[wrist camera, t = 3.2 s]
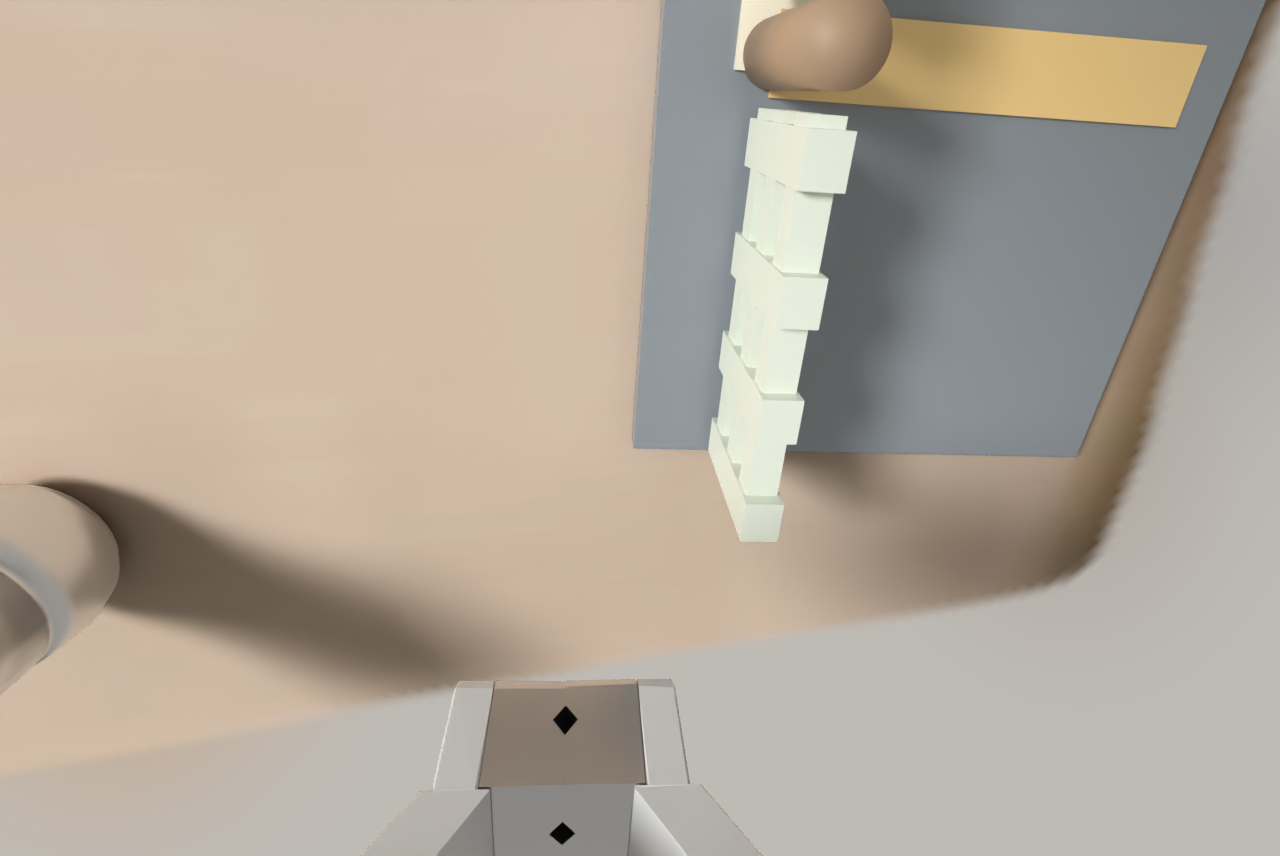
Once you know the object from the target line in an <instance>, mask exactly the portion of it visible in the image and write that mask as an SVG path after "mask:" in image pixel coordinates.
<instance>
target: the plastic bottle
mask: <svg viewBox="0 0 1280 856" xmlns="http://www.w3.org/2000/svg"><path fill="white" fill-rule="evenodd" d="M119 573H120V562H119V552H118V545H117V543H116V540H115V538H114V535H113V534H112V532H111V530H110V529H109V527H108V526H107V524H106V523H105V522H104V521H103V520H102V519H101V518H100V517H99V516H98V515H97V514H96V513H95V512H94V511H93V510H91V509H90V508H89V507H88V506H86V505H85V504H83V503H81V502H80V501H78V500H77V499H75V498H73V497H71V496H69V495H67V494H64V493H62V492H60V491H57V490H53V489H50V488H47V487H42V486H36V485H23V484H0V695H2V694H3V693H4V692H5V691H6V690H7V689H8V688H10V687H11V686H12V685H13V684H14V683H15V682H16V681H17V680H19V679H20V678H21V677H22V676H23V675H24V674H25V673H26V672H28V671H29V670H30V669H31V668H32V667H33V666H34V665H36V664H38V663H39V662H41V661H42V660H44V659H45V658H47V657H48V656H50V655H51V654H53V653H54V652H56V651H57V650H58V649H60V648H61V647H63V646H64V645H65V644H67V643H68V642H69V641H70V640H71V639H73V638H74V637H75V636H76V635H78V634H79V633H80V632H81V631H82V630H84V629H85V628H86V627H87V626H88V625H90V624H91V623H92V621H93V620H94V619H95V618H96V617H97V616H98V615H99V613H100V612H101V610H102V608H103V607H104V605H105V604H106V602H107V600H108V599H109V597H110V596H111V594H112V592H113V591H114V589H115V587H116V585H117V582H118V580H119Z"/></svg>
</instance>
